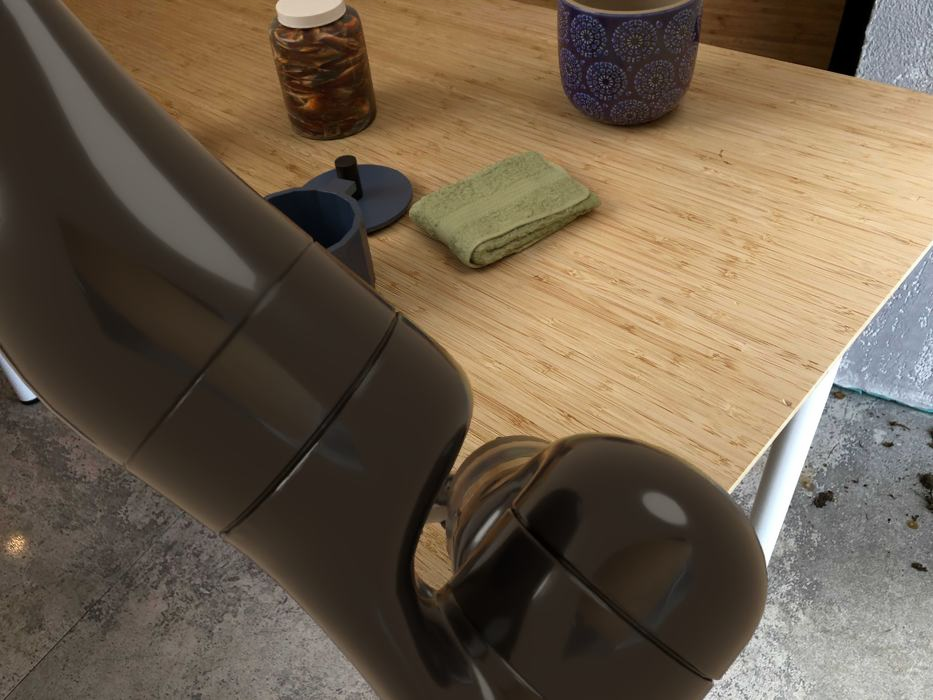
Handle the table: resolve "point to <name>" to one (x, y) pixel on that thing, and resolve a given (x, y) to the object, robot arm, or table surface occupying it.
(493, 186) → the washcloth
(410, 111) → the table surface
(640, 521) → the robot arm
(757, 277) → the table surface
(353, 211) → the pot
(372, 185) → the lid
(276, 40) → the jar
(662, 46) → the planter
